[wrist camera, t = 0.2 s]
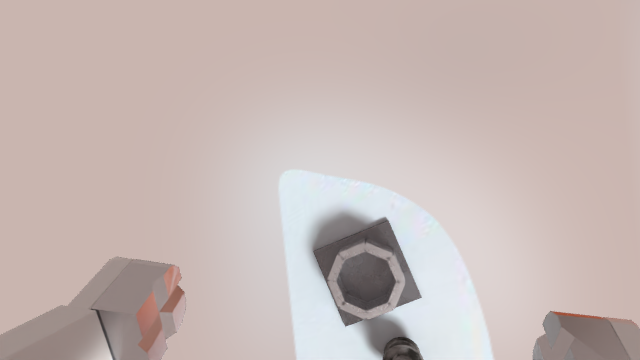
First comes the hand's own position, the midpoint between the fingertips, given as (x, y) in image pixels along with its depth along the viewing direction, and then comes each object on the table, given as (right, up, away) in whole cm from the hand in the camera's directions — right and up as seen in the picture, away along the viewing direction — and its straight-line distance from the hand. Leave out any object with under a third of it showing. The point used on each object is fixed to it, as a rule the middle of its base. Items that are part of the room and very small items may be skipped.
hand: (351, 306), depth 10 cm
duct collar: (+6, -11, +54) cm, 55 cm away
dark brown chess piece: (+11, -23, +53) cm, 59 cm away
